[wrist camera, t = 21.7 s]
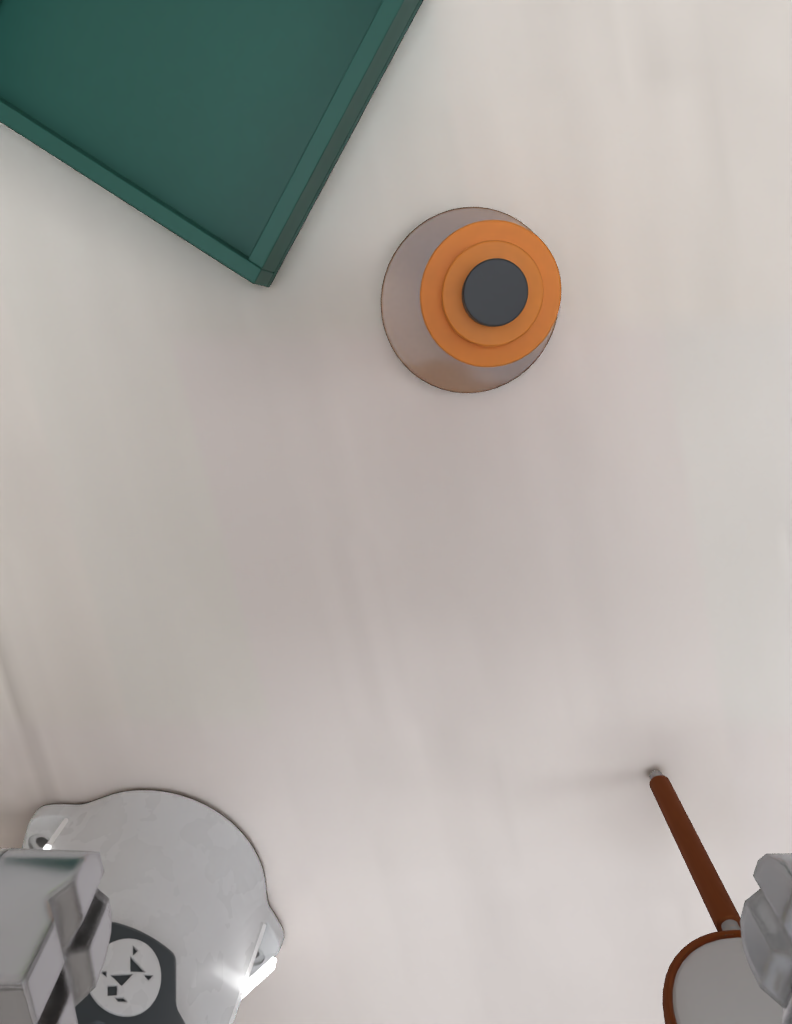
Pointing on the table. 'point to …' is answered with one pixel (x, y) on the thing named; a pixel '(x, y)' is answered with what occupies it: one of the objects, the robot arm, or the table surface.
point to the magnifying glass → (709, 942)
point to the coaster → (406, 314)
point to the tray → (200, 105)
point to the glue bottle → (490, 293)
